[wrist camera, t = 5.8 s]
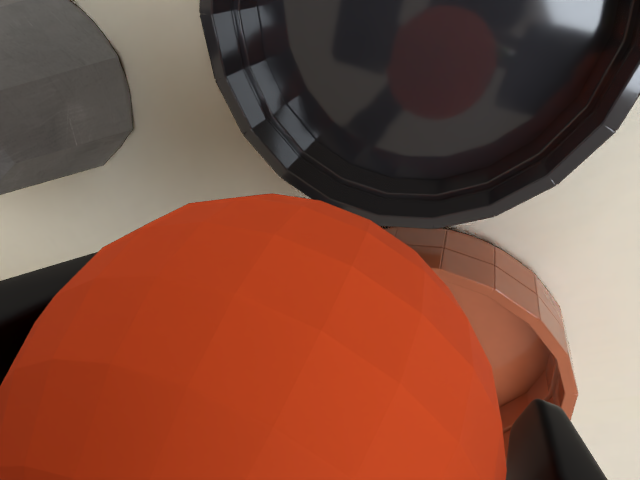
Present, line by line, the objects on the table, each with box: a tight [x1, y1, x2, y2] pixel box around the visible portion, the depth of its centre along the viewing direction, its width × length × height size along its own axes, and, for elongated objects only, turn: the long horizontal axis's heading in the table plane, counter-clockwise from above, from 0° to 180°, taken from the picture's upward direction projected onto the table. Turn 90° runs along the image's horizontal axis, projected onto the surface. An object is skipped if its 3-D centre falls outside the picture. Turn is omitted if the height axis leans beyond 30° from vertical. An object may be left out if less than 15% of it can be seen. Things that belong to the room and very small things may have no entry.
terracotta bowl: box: [384, 227, 578, 462], centre depth 22 cm, size 14×14×4 cm
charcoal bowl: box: [200, 0, 640, 229], centre depth 14 cm, size 14×14×4 cm
